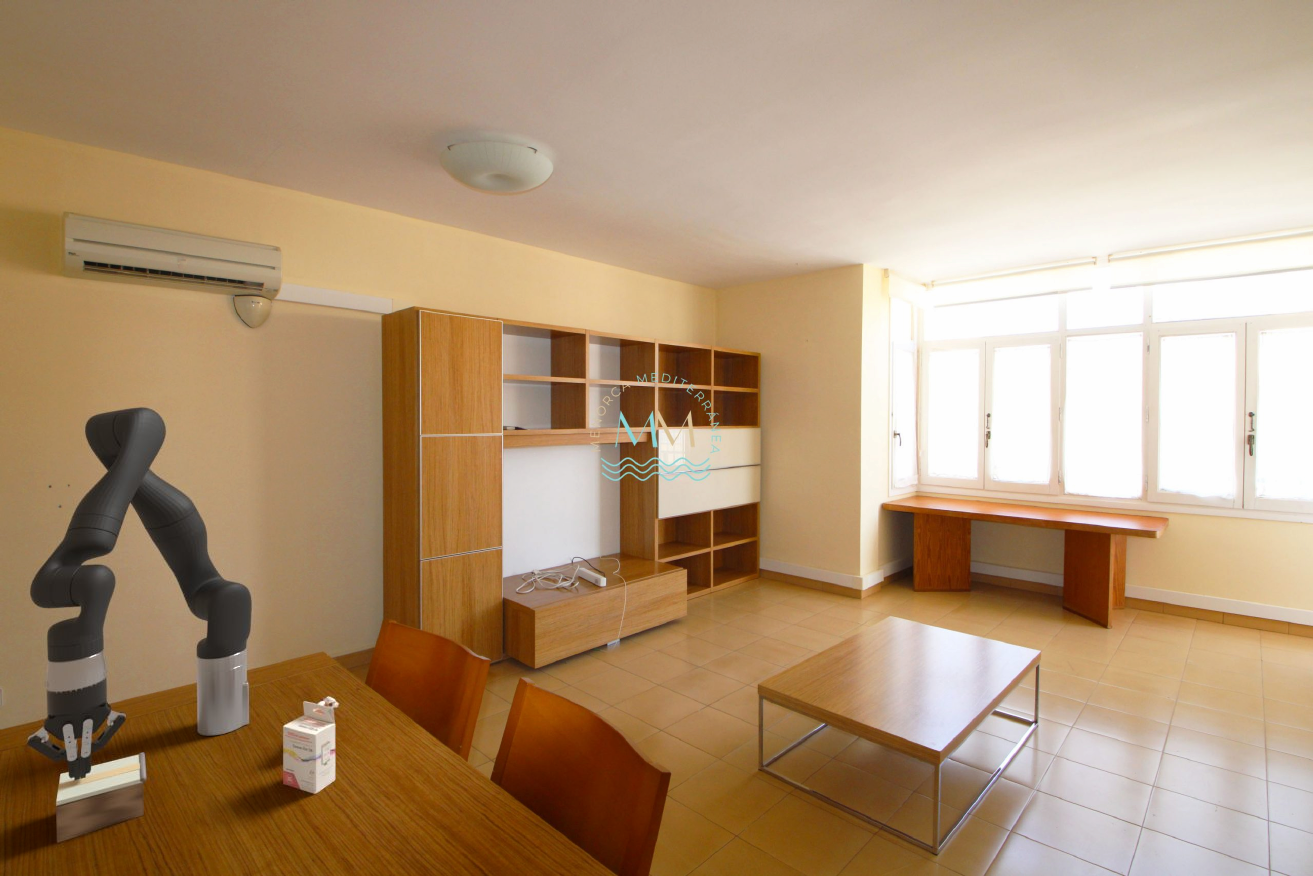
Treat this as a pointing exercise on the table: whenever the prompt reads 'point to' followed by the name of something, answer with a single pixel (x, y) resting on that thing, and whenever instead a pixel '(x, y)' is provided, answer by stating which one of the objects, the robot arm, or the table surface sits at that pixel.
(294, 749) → the ink cartridge box
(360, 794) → the table surface
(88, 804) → the box
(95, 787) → the lid
